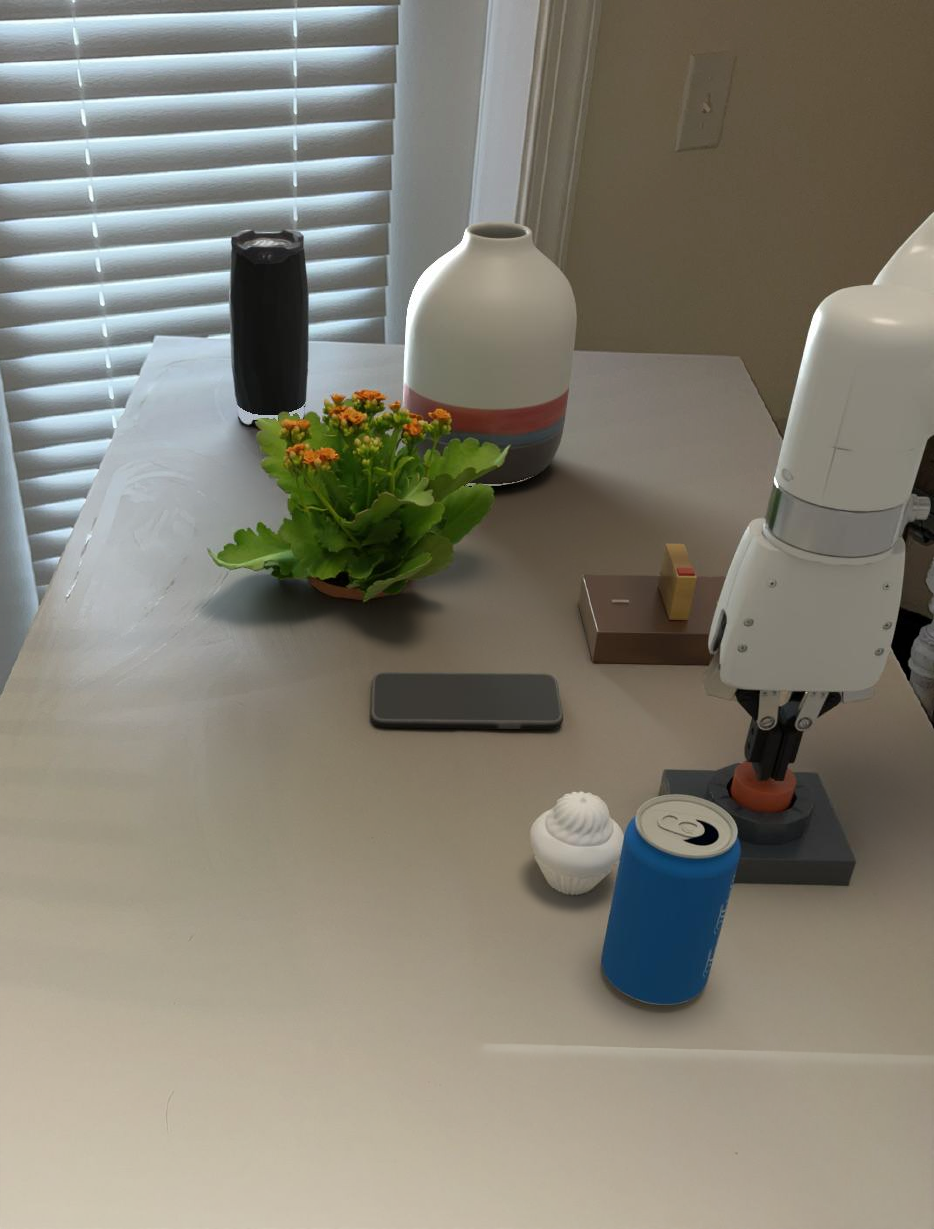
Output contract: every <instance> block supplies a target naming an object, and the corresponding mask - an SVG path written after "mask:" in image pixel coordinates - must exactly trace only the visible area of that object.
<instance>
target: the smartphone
mask: <svg viewBox="0 0 934 1229" xmlns="http://www.w3.org/2000/svg"><path fill="white" fill-rule="evenodd" d="M559 688H560V687H559V682H558V680H557V678H556V677H555V676H554V675H552V674H550V673H532V672H531V673H524V672H523V673H519V672H518V673H517V672H516V673H515V672H514V673H510V672H509V673H508V672H398V671H397V672H394V671H393V672H392V671H391V672H389V671H388V672H386V671H384V672H379V673H376V674H375V675H374V676H373V677H372V679H371V688H370V690H371V691H370V692H371V693H370V714H369V715H370V720H371V722H372V723H373V725H374V726H376V727H379V728H398V729H399V728H402V729H403V728H404V729H405V728H406V729H407V728H411V729H478V730H479V729H481V730H482V729H485V730H486V729H488V730H493V729H494V730H498V729H499V730H500V729H501V730H555V729H558V728H560V727H561V726H562V724H563V722H564V712H563V706H562V700H561V693H560V689H559Z"/></svg>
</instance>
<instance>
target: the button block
mask: <svg viewBox="0 0 934 1229" xmlns="http://www.w3.org/2000/svg"><path fill="white" fill-rule="evenodd" d="M741 763H742V762H735V763H732V764H730V765H727V766H724V767H721V768H718V769H715V770H714V769H713V770H712V769H711V770H710V769H709V770H708V769H671V768H669V769H668V768H667V769H665V768H664V769H663V770H662V776H661V781H660V785H659V790H658V796H663V795H672V794H679V795H689V796H694V797H698V798H702V799H705V800H707V801H710V802H712V803H714V804H716V805H718V806H719V807H721V808H722V809H724V810H725V811H726V812H727V813H728V814H729V815H730V816H731V817H732V818H733V820H734V821H735V823H736V826H737V832H738V833H737V837H738V839H739V843H740V847H741V854H740V859H739V862H738V866H737V870H736V874H735V878H734V881H733V884H755V885H756V884H759V885H760V884H761V885H797V886H800V885H803V886H841V887H842V886H843V887H844V886H846V887H848V886H849V885H850V882H851V879H852V876H853V873H854V870H855V867H856V864H857V859H856V857H855V855H854V852H853V850H852V848H851V845H850V844H849V841H848V838H847V836H846V834H845V832H844V830H843V827H842V825H841V823H840V821H839V818H838V815H837V813H836V812H835V809H834V807H833V804H832V803H831V800H830V797H829V796H828V793H827V791H826V788H825V787H824V784H823V782H822V779H821V777H820V775H819V773H818V772H816V771H815V772H813V771H810V772H807V771H804V772H803V771H792V772H793V774H794V775H795V778H796V786H795V789H794V793H793V796H792V800H791V803H790V806H789V807H788V808H787V809H786V810H784V811H782V812H779V813H760V812H756V811H753V810H750V809H747V808H744V807H742V806H740V805H739V804H738V803H737V802H735V801H734V800H733V799H732V797H731V794H730V790H731V786H732V782H733V777H734V773H735V769H736V767H737V766H738V765H739V764H741Z"/></svg>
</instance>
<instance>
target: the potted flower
mask: <svg viewBox="0 0 934 1229" xmlns="http://www.w3.org/2000/svg"><path fill="white" fill-rule="evenodd" d="M329 397H331V398H330V399H331V401H332V402H333V403H332V402H330V400H329V399H328V398H324V400H323V405H324V407H323V408H322V413H323V415H322V416H319V415H318V414H317V413H316V412H315V411H311V410H310V411H308V412H307V413H306V414H304V419H300V417H299V415H298V414H297V413H295V414H293V416H290V414H289V413H288V412H281V413H280V414H279V415H278V421H277V420H276V419H275V418H273V419H269V418H257V421H254V424H255V426H256V427H257V428H258V429H259V431H257V433H256V436H255V440H256V442H257V444H258V445H259V446H260V448H259V450H260V453H262V454H263V455H265V456H267V457H265V458H263V459H262V460H261V461H260V467H261V468H262V470H263V471H264V472H265V473H266V474H268V477H269V478H271V479H274V480H275V479H276V481H275V484H276V486H277V487H278V488H279V489H281V490H282V491H283V492H284V493H285V494H289V497H287V500H286V505H287V510H288V512H289V515H290V516H291V518H287V517H283V519H282V523H281V524H280V526H279V528H278V530H277V533H276V532H275V531H274V530H272V528H270V527H267V525H266V524H265V523H264V522H262V521H258V522H257V523H256V527H255V528H256V529H255V531H254V530H253V529H252V528H251V527H249V526H247V527H246V529H245V528H239V529H236V531H234V533H233V541H234V543H231V542H230V543H226V544H225V545H224V546H223V549H222V550H220V551H219V552H218V553H217V555H216V554H215V553H214V551H212V550H211V548H210V547H207V548H206V549H207V553H208V555H209V557H211V560H212V561H213V562H214V564H215V565H216V566H217V567H220V568H223V567H224V568H225V569H227V570H229V571H233V570H238V569H242V568H243V569H247V570H248V569H249V570H251V571H253V572H259V571H262V570H264V569H265V570H266V571H269V569H271V568H272V571H271V572H270V576H271V577H272V578H274V579H275V578H276V579H279V580H285V579H290V580H291V579H295V580H305V579H307V580H308V582H309V583H310V585H311V586H313V587H314V588H315V589H317V591H318V592H321V593H323V594H325V595H327V596H329V597H333V598H338V599H339V598H342V599H349V600H357V601H362V602H363V603H365V602H367V601H369V600H371V599H378V598H382V597H387V596H391V595H392V596H394V595H397V594H399V593H400V592H402V590H403V588H405V587H407V585H408V582H409V581H413V580H419V579H424V578H428V577H430V576H434V575H436V574H439V573H440V572H442V571H444V570H446V569H447V568H448V567H449V565H450V564H451V563H453V561H454V560H455V556H453V554H454V553H455V551H454V546H455V545H457V544H459V543H460V542H461V541H462V540H463V539H464V538H465V537H466V536H467V535H469V534H470V533H471V532H472V531H473V530H474V529H475V528H476V527H477V526H478V525H479V524H480V523H482V522H483V521H484V518H486V516H487V515H488V514H489V513H490V512H491V510H492V506H493V505H494V503H495V499H496V498H495V495H494V494H495V490H494V487H490V486H488V485H483V484H481V483H480V484H475V485H473V486H472V487H469V486H467V485H466V484H468V483H469V482H471V481H473V480H475V479H477V478H479V477H480V476H482V475H484V474H486V473H488V472H490V471H492V470H494V469H496V468H498V467H500V466H502V465H503V463H504V459H505V457H506V455H507V453H508V449H509V448H510V446H511V445H508V446H507V447H506V448H505V450H504V451H503V452H502V449H500V450H499V448H498V447H497V446H496V445H495V444H492V443H488V442H485V443H484V444H482V446H481V447H479V441H478V440H477V439H474V438H467V439H465V440H464V442H463V443H462V444H461V442H460V440H459V439H452V440H451V441H450V442H449V444H448V447H447V446H446V447H445V449H444V451H443V456H442V457H441V455H440V453H439V452H438V451H437V450H434V449H435V446H436V443H437V441H438V440H439V439H440V438H441V437H442V435H444V434H450V432H449V431H450V430H451V428H450V423H451V422H452V419H451V416H450V414H449V413H446V412H447V411H443V409H436V410H435V412H433V413H430V412H429V413H428V415H429V417H431V418H433V419H434V421H432V422H431V423H430V424H428V422H427V421H423V419H424V418H423V417H422V416H421V415H417V414H413V413H409V410H406V408H403V407H402V401H401V400H396V401H394V403H391V404H390V403H388V404H387V406H388V408H389V409H390V410H391V412H389V411H386V406H385V402H383V401H386V400H387V399H388V397H387V396H385V394H384V393H383V394H382V393H381V392H380V391H378V390H377V391H376V390H375V389H373V390H369V389H361V390H360V391H358V390H357V391H354V392H353V393H352V394H351V396H350V398H346V397H347V396H346V395H343V394H337V393H335V394H333V393H332V394H330V395H329ZM345 398H346V399H345ZM378 413H381V414H380V415H377V414H378ZM376 415H377V416H376ZM321 420H322V422H321ZM391 430H392V432H391V435H390V433H388V432H390V431H391ZM386 432H387V433H386ZM424 432H426V433H430V435H429V437H430V439H431V440H433V441H434V443H433V446H432V449H431V450H430V449H428V450H427V451H426V453H425V455H424V457H423V460H422V461H423V462H422V464H421V458H420V457H419V455H418V452H417V451H418V450H419V447H417V448H416V449H414V446H415V445H416V444H417V443H420V442H422V441H424V440H426V439H425V437H426V433H425V434H423V433H424ZM438 433H439V435H438ZM435 435H436V436H435ZM437 437H438V438H437ZM401 442H402V444H404V445H405V446H402V448H400V449H399V450H398V448H399V445H400V443H401ZM406 445H407V446H406ZM397 450H398V451H397ZM396 452H397V453H396ZM501 452H502V453H501ZM464 485H466V486H464Z"/></svg>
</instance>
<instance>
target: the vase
mask: <svg viewBox="0 0 934 1229" xmlns="http://www.w3.org/2000/svg"><path fill="white" fill-rule="evenodd" d="M406 313H407V314H406V321H405V322H406V323H405V324H406V325H405V339H404V340H405V341H404V361H403V384H402V385H403V386H402V387H403V388H402V409H403V408H406V410H409V413H413V414H417V415H421V416H422V417H423V418H424V419H423V421H427V422H428V424H430V423H431V422H432V421H434V419H433V418H431V417H429V415H428V413H429V412H430V413H433V412H435V410H436V409H443V411H447V412H446V413H449V414H450V416H451V419H452V422H451V423H450V428H451V430H450V431H449V432H450V434H444V435H442V437H441V438H440V439H439V440H438V441H437V443H436V446H435V449H434V450H437V451H438V452H439V453H440V455H441V457H442V456H443V451H444V449H445V447H446V446H447V447H448V444H449V442H450V441H451V440H452V439H459V440H460V442H461V444H462V443H463V442H464V440H465V439H467V438H474V439H477V440H478V441H479V447H481V446H482V444H484V443H485V442H488V443H492V444H495V445H496V446H497V447H498V448H499V450H500V449H502V452H503V451H504V450H505V448H506V447H507V446H508V445H511V446H510V448H509V449H508V453H507V455H506V457H505V459H504V463H503V465H502V466H500V467H498V468H496V469H494V470H492V471H490V472H488V473H486V474H484V475H482V476H480V477H479V478H477V479H475V480H473V481H471V482H469V483H476V484H480V483H481V484H503V483H512V482H517V481H520V480H524V479H526V478H529V477H532V476H534V477H536V476H537V475H536V474H538V473H539V472H540V473H542V472H543V471H545V470H546V469H547V467H548V466H549V465H550V464H551V463H552V461H553V459H554V457H555V455H556V454H557V453H558V450H559V448H560V445H561V441H562V438H563V433H564V428H565V420H566V415H567V408H568V399H569V392H570V384H571V376H572V369H573V368H572V367H573V362H574V361H573V360H574V352H575V343H576V335H577V323H578V320H577V319H578V313H577V304H576V299H575V295H574V292H573V288H572V286H571V283H570V282H569V279H568V278H567V276H566V275H565V274H564V273H563V272H562V270H561V269H560V268H559V267H558V266H557V265H556V264H555V262H553V261H552V260H550V258H548V257H547V256H546V255H545V254H544V253H542V252H541V251H540V250H539V249H538V248H537V246H536V245H535V244H534V240H533V231H532V230H531V228H529V227H528V226H526V225H523V224H519V223H516V222H515V223H514V222H509V221H483V222H477V223H474V224H471V225H469V226H467V227H466V228H465V231H464V235H463V238H462V241H461V242H460V243H459V244H458V245H457V246H455V247H454V248H453V249H452V250H450V251H448V252H447V253H446V254H444V255H443V256H441V257H439V258H438V259H437V260H436V261H435V262H434V263H432V264H431V265H430V266H429V267H428V268H427V269H425V271H424V272H423V273H422V275H421V276H420V277H419V279H418V281H417V282H416V284H415V286H414V289H413V290H412V294H411V297H410V299H409V303H408V307H407V312H406ZM425 433H426V432H424V433H423V434H425ZM429 435H430V433H426V437H425V439H426V440H424V441H422V442H420V443H417V444H416V445H415V446H414V449H416V448H417V447H419V450H418V451H417V452H418V455H419V457H420V458H421V464H422V462H423V461H422V460H423V457H424V455H425V453H426V451H427V450H428V449H430V450H431V449H432V446H433V443H434V441H433V440H431V439H430V437H429ZM438 435H439V433H438ZM435 436H436V435H435ZM437 438H438V437H437ZM405 446H407V445H406V444H405ZM502 452H501V453H502ZM542 470H543V471H542ZM541 471H542V472H541ZM540 473H539V474H540ZM539 474H538V475H539ZM535 475H536V476H535Z"/></svg>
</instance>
